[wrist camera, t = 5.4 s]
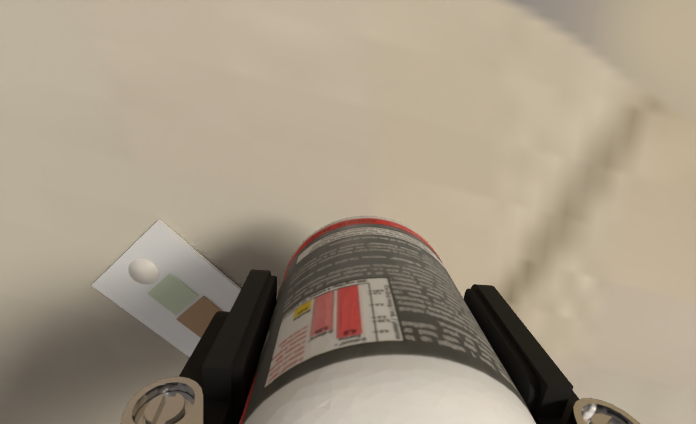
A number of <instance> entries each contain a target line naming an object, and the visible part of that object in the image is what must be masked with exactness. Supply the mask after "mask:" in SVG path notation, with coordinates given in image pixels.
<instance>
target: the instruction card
mask: <svg viewBox="0 0 696 424" xmlns="http://www.w3.org/2000/svg"><path fill="white" fill-rule="evenodd" d="M91 286H92V287H94V288H95V289H96V290H98V291H99V292H101V293H102V294H103V295H105V296H106V297H107V298H109V299H110V300H112V301H113V302H114V303H116V304H117V305H118V306H120V307H121V308H122V309H124V310H125V311H127V312H128V313H129V314H131V315H132V316H133V317H135V318H136V319H138V320H139V321H140V322H142V323H143V324H144V325H146V326H147V327H148V328H150V329H151V330H153V331H154V332H155V333H157V334H158V335H159V336H161V337H162V338H163V339H165V340H166V341H168V342H169V343H170V344H172V345H173V346H174V347H176V348H177V349H179V350H180V351H181V352H183V353H184V354H185V355H187V356H188V357H189V358H190V356H191V355H192V353H193V351H194V349H195V348H196V346H197V344H198V342H199V341H200V339H201V337H202V335H203V334H204V332H205V330H206V328H207V327H208V325H209V323H210V321H211V320H212V318H213V316H214V315H215V313H216V312H218V311H226V312H230V310H231V308H232V306H233V304H234V303H235V301H236V299H237V297H238V295H239V293H240V291H241V288H240V287H239V286H238V285H236V284H235V283H234V282H233V281H232V280H231V279H229V278H228V277H227V276H226V275H225V274H223V273H222V272H221V271H220V270H219V269H218V268H216V267H215V266H214V265H213V264H212V263H211V262H209V261H208V260H207V259H206V258H205V257H203V256H202V255H201V254H200V253H199V252H198V251H196V250H195V249H194V248H193V247H192V246H191V245H189V244H188V243H187V242H186V241H185V240H183V239H182V238H181V237H180V236H179V235H178V234H176V233H175V232H174V231H173V230H172V229H171V228H169V227H168V226H167V225H166V224H165V223H163V222H162V221H161V220H160V219H159V220H158V221H157V222H156V223H155V224H154V225H153V226H152V227H151V228H150V229H149V230H148V231H147V232H146V233H145V234H143V235H142V236H141V237H140V238H139V239H138V240H137V241H136V242H135V243H134V244H133V245H132V246H131V247H130V248H129V249H128V250H127V251H126V252H125V253H124V254H123V255H122V256H121V257H120V258H119V259H118V260H117V261H116V262H115V263H114V264H113V265H112V266H111V267H110V268H109V269H108V270H106V271H105V272H104V273H103V274H102V275H101V276H100V277H99V278H98V279H97V280H96V281H95V282H94V283H93V284H92V285H91Z"/></svg>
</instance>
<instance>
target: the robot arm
mask: <svg viewBox="0 0 696 424" xmlns="http://www.w3.org/2000/svg"><path fill="white" fill-rule="evenodd" d="M276 296H277V277H276V276H271V273H270V271H265V270H251V271H250V273H249V275H248V277H247V279H246V281H245V283H244V285H243V287H242V289H241V291H240V293H239V295H238V297H237V299H236V301H235V303H234V304H233V306H232V308H231V310H230V312H226V311H218V312H216V313H215V315H214V316H213V318H212V320H211V321H210V323H209V325H208V327H207V328H206V330H205V332H204V334H203V335H202V337H201V339H200V341H199V342H198V344H197V346H196V348H195V349H194V351H193V353H192V355H191V356H190V358H189V360H188V362H187V363H186V365H185V367H184V369H183V370H182V372H181V374H180V376H179V377H170V378H165V379H162V380H158V381H156V382H154V383H152V384H150V385H148V386H146V387H144V388H143V389H142V390H140V391H139V392H138V393H136V394H135V395H134V396H133V398H132V399H131V400H130V401H129V402H128V403H127V405H126V408H125V410H124V412H123V415H122V419H121V423H120V424H239V422H240V419H241V416H242V413H243V411H244V407H245V403H246V400H247V397H248V394H249V391H250V388H251V384H252V381H253V378H254V375H255V371H256V368H257V365H258V361H259V358H260V355H261V351H262V347H263V343H264V341H265V338H266V335H267V331H268V328H269V325H270V322H271V318H272V315H273V311H274V308H275V305H276ZM464 301H465V303H466V304H467V306H468V308H469V310H470V311H471V313H472V315H473V316H474V318H475V320H476V321H477V323H478V325H479V327H480V328H481V330H482V332H483V333H484V335H485V337H486V338H487V340H488V342H489V343H490V345H491V347H492V349H493V350H494V352H495V354H496V355H497V357H498V358H499V360H500V362H501V363H502V365H503V367H504V368H505V370H506V372H507V373H508V375H509V377H510V378H511V380H512V382H513V384H514V385H515V387H516V388H517V390H518V392H519V393H520V395H521V396H522V398H523V400H524V402H525V403H526V405H527V407H528V409H529V411H530V413H531V416H532V417H533V419H534V421H535V423H536V424H640V423H639V422H638V421H637V420H636V419H634V418H633V417H632V416H630V415H629V414H628V413H626V412H625V411H623V410H622V409H620V408H618V407H616V406H614V405H612V404H610V403H607V402H605V401H602V400H598V399H593V398H582V399H579V398H578V397H577V396H576V394H575V393H574V392H573V390H572V389H573V386H572V384H571V383H570V382H569V381H568V379H567V378H566V377H565V376H564V374H563V373H562V372H561V371H560V369H559V368H558V367H557V366H556V364H555V363H554V362H553V360H552V359H551V358H550V357H549V355H548V354H547V353H546V352H545V350H544V349H543V348H542V347H541V345H540V344H539V343H538V342H537V340H536V339H535V338H534V336H533V335H532V334H531V333H530V331H529V330H528V329H527V328H526V326H525V325H524V324H523V323H522V321H521V320H520V319H519V318H518V316H517V315H516V314H515V313H514V311H513V310H512V309H511V307H510V306H509V305H508V304H507V302H506V301H505V300H504V299H503V297H502V296H501V295H500V294H499V292H498V291H497V290H496V289H495V287H494V286H491V285H476V284H474V285H473V286H472V287H471V289H467V290H466V292H465V296H464Z"/></svg>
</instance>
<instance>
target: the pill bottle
mask: <svg viewBox="0 0 696 424" xmlns="http://www.w3.org/2000/svg"><path fill="white" fill-rule="evenodd" d="M239 424H536V423H535V421H534V419H533V417H532V416H531V413H530V411H529V409H528V407H527V405H526V403H525V402H524V400H523V398H522V396H521V395H520V393H519V392H518V390H517V388H516V387H515V385H514V384H513V382H512V380H511V378H510V377H509V375H508V373H507V372H506V370H505V368H504V367H503V365H502V363H501V362H500V360H499V358H498V357H497V355H496V354H495V352H494V350H493V349H492V347H491V345H490V343H489V342H488V340H487V338H486V337H485V335H484V333H483V332H482V330H481V328H480V327H479V325H478V323H477V321H476V320H475V318H474V316H473V315H472V313H471V311H470V310H469V308H468V306H467V304H466V303H465V301H464V299H463V298H462V296H461V294H460V292H459V291H458V289H457V287H456V286H455V284H454V282H453V281H452V279H451V277H450V275H449V274H448V272H447V271H446V269H445V267H444V266H443V264H442V262H441V260H440V258H439V257H438V255H437V254H436V252H435V251H434V250H433V248H432V247H431V246H430V245H429V244H428V242H427V241H426V240H425V239H424V238H423V237H422V236H420V235H419V234H418V233H417V232H415V231H414V230H412V229H411V228H409V227H407V226H405V225H403V224H401V223H399V222H396V221H393V220H390V219H386V218H382V217H375V216H358V217H351V218H346V219H342V220H338V221H335V222H333V223H330V224H328V225H326V226H324V227H322V228H320V229H319V230H317V231H316V232H314V233H313V234H312V235H310V236H309V237H308V238H307V239H306V240H305V241H304V242H303V243H302V244H301V245H300V246H299V248H298V249H297V250H296V252H295V253H294V255H293V256H292V258H291V260H290V262H289V264H288V267H287V269H286V272H285V275H284V278H283V281H282V284H281V287H280V291H279V294H278V298H277V301H276V305H275V308H274V311H273V315H272V318H271V322H270V325H269V328H268V331H267V335H266V338H265V341H264V343H263V347H262V351H261V355H260V358H259V361H258V365H257V368H256V371H255V375H254V378H253V381H252V384H251V388H250V391H249V394H248V397H247V400H246V403H245V407H244V411H243V413H242V416H241V419H240V422H239Z"/></svg>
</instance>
